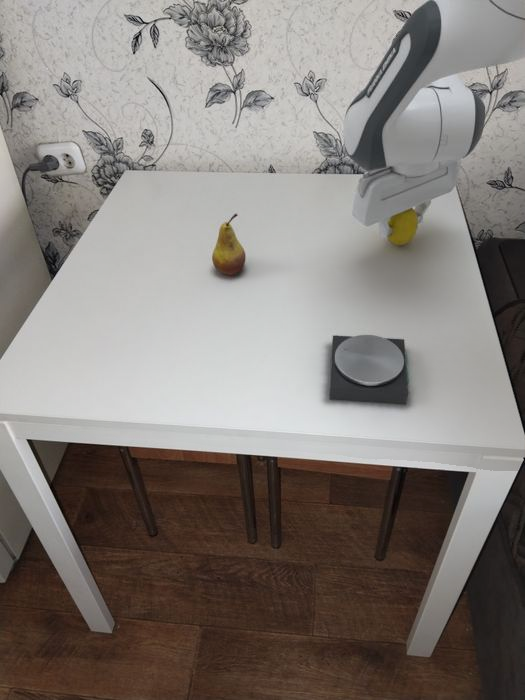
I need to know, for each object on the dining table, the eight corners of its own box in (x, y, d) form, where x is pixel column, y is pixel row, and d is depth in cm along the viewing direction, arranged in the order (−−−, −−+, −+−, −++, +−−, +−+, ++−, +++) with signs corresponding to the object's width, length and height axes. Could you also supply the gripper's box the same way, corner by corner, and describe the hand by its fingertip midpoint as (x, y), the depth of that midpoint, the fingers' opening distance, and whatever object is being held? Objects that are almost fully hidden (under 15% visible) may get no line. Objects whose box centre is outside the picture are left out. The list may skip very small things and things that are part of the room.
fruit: (244, 258, 102) (239, 196, 94) (248, 278, 98) (244, 215, 90) (212, 262, 102) (205, 200, 94) (215, 282, 98) (208, 219, 90)
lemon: (412, 236, 106) (419, 196, 100) (415, 254, 102) (422, 213, 96) (381, 235, 106) (386, 195, 100) (383, 253, 102) (388, 213, 97)
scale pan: (401, 339, 82) (402, 336, 82) (405, 388, 76) (405, 385, 76) (335, 336, 83) (335, 332, 83) (333, 383, 77) (333, 380, 77)
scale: (404, 352, 85) (406, 339, 83) (407, 405, 78) (410, 392, 76) (331, 348, 86) (332, 335, 84) (329, 400, 79) (330, 387, 77)
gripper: (374, 180, 86) (366, 258, 96) (473, 142, 94) (456, 217, 103) (347, 163, 90) (341, 240, 100) (443, 128, 98) (430, 202, 107)
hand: (400, 228), depth 102 cm, fingers closed on lemon, 5 cm apart
